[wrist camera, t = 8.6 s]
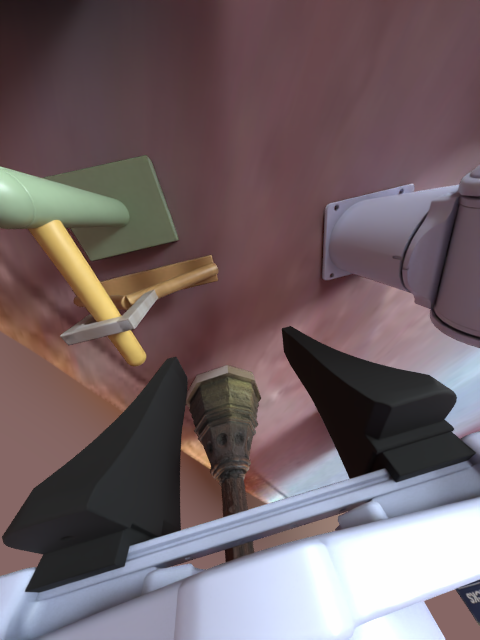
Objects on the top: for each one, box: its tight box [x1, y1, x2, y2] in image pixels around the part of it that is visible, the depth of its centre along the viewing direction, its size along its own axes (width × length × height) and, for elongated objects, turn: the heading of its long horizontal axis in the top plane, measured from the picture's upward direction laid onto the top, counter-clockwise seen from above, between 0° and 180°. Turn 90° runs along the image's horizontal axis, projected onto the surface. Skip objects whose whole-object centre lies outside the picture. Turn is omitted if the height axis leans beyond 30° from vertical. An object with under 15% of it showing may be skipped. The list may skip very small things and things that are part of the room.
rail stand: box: [0, 155, 179, 366], centre depth 12 cm, size 8×13×12 cm, turn 12°
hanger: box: [60, 255, 218, 345], centre depth 13 cm, size 14×2×9 cm, turn 102°
